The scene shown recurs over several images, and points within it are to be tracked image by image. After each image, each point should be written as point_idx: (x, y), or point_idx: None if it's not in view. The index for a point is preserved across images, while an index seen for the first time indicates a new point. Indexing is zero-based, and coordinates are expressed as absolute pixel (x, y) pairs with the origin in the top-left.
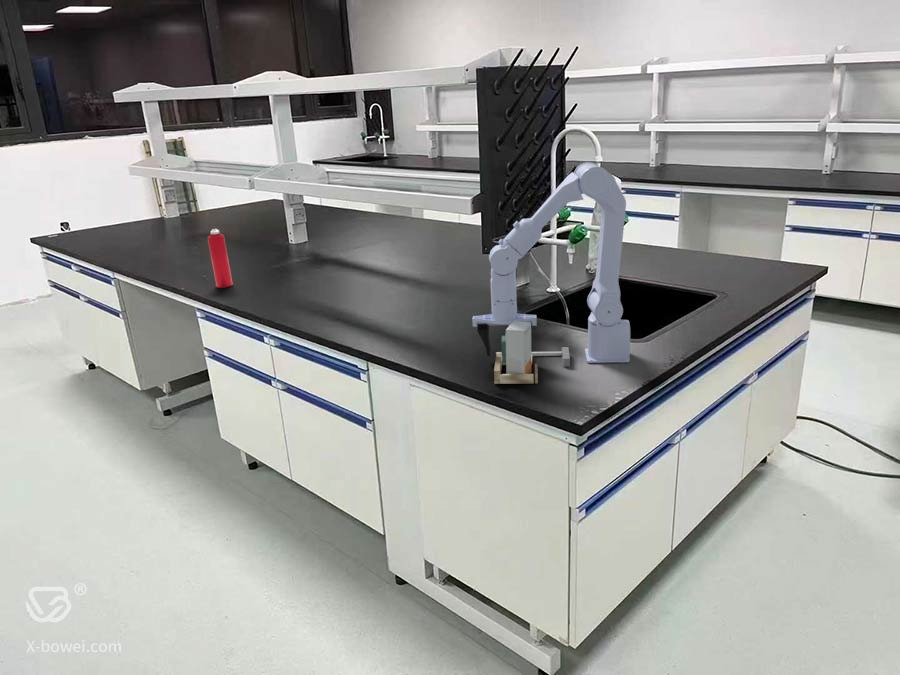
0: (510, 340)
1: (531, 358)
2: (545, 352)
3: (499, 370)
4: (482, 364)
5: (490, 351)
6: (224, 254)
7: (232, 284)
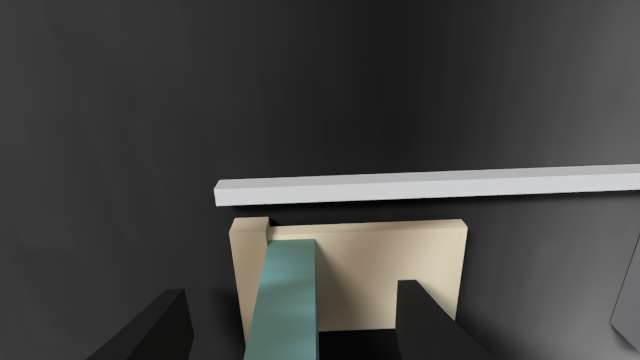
0: None
1: (456, 281)
2: (567, 189)
3: None
4: None
5: (181, 315)
6: None
7: None
